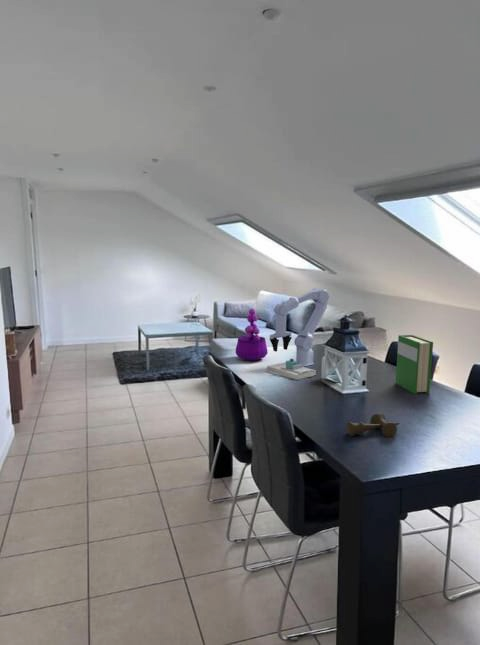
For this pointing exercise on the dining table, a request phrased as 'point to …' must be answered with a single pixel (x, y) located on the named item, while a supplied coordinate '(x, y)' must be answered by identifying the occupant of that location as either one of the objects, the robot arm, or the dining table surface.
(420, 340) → the hardback book
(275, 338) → the robot arm
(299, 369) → the shutter
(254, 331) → the decorative plant
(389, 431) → the kendama
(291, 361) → the plug
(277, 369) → the socket plate
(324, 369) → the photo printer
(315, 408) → the dining table surface
